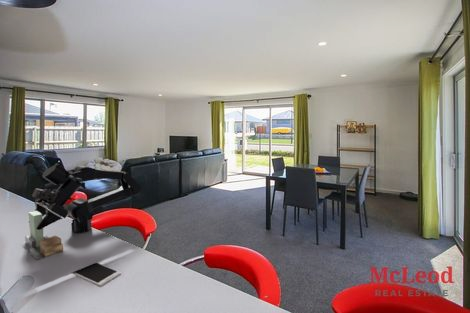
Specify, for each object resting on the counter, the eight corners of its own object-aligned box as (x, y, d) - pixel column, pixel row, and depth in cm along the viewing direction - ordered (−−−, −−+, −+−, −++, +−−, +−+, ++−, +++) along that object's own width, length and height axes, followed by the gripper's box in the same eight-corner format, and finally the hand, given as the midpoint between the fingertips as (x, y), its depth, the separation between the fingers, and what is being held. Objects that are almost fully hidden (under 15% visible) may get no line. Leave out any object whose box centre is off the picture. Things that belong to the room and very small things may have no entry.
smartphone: (90, 262, 84) (90, 259, 84) (121, 274, 77) (121, 272, 77) (68, 273, 78) (68, 270, 77) (100, 287, 71) (100, 284, 71)
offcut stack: (58, 245, 92) (57, 234, 91) (63, 250, 89) (62, 238, 88) (40, 251, 87) (39, 240, 87) (44, 256, 84) (44, 244, 84)
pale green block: (39, 240, 96) (36, 210, 94) (44, 244, 92) (42, 214, 91) (31, 242, 94) (28, 212, 92) (36, 247, 90) (33, 215, 89)
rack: (46, 239, 99) (46, 229, 98) (64, 253, 88) (63, 243, 88) (21, 246, 92) (20, 236, 92) (36, 263, 82) (35, 251, 81)
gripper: (39, 176, 99) (5, 210, 92) (56, 183, 88) (19, 222, 81) (63, 191, 107) (33, 223, 99) (81, 200, 96) (49, 236, 88)
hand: (33, 226), depth 92 cm, fingers open, 9 cm apart
